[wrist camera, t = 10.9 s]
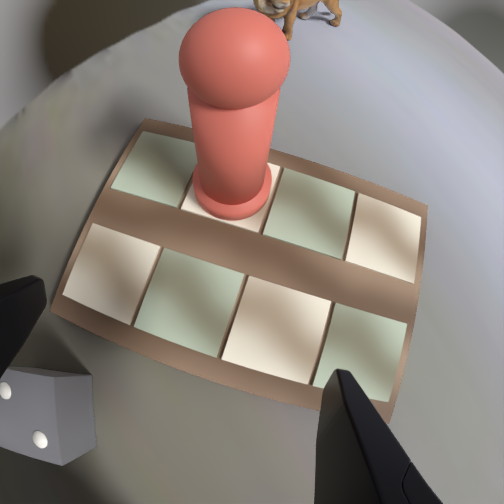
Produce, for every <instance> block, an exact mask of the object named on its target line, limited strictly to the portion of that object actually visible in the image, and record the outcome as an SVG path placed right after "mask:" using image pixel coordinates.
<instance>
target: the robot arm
mask: <svg viewBox="0 0 504 504" xmlns="http://www.w3.org/2000/svg"><path fill="white" fill-rule="evenodd" d="M46 303H47V298H46V292H45V286H44V281H43V280H42V279H41V278H39V277H37V276H34V275H30V276H27V277H23V278H20V279H16V280H13V281H10V282H6V283H3V284H0V379H1V377H2V376H3V374H4V373H5V371H6V370H7V368H8V366H9V365H10V363H11V362H12V360H13V359H14V357H15V356H16V354H17V353H18V352H19V350H20V349H21V347H22V346H23V344H24V343H25V341H26V339H27V338H28V336H29V334H30V332H31V331H32V329H33V327H34V325H35V324H36V322H37V320H38V318H39V317H40V315H41V313H42V312H43V310H44V308H45V306H46ZM410 461H411V460H410V458H409V457H408V455H407V454H406V452H405V451H404V449H403V448H402V446H401V445H400V443H399V442H398V441H397V439H396V438H395V436H394V435H393V433H392V432H391V430H390V429H389V427H388V426H387V424H386V423H385V421H384V420H383V418H382V417H381V415H380V414H379V413H378V411H377V410H376V408H375V407H374V405H373V404H372V402H371V401H370V399H369V398H368V396H367V395H366V394H365V392H364V391H363V389H362V388H361V386H360V385H359V383H358V382H357V380H356V379H355V378H354V376H353V375H352V373H351V372H350V371H348V370H344V369H339V368H337V369H335V370H334V371H333V373H332V374H331V376H330V378H329V380H328V381H327V383H326V385H325V387H324V389H323V393H322V400H321V408H320V416H319V424H318V431H317V439H316V470H315V496H314V504H443V503H442V502H441V500H440V499H439V498H438V497H437V496H436V494H435V493H434V492H433V491H432V489H431V488H430V487H429V486H428V484H427V483H426V481H425V480H424V479H423V477H422V476H421V474H420V473H419V472H418V470H417V469H416V467H415V466H414V464H413V463H412V462H410Z"/></svg>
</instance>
